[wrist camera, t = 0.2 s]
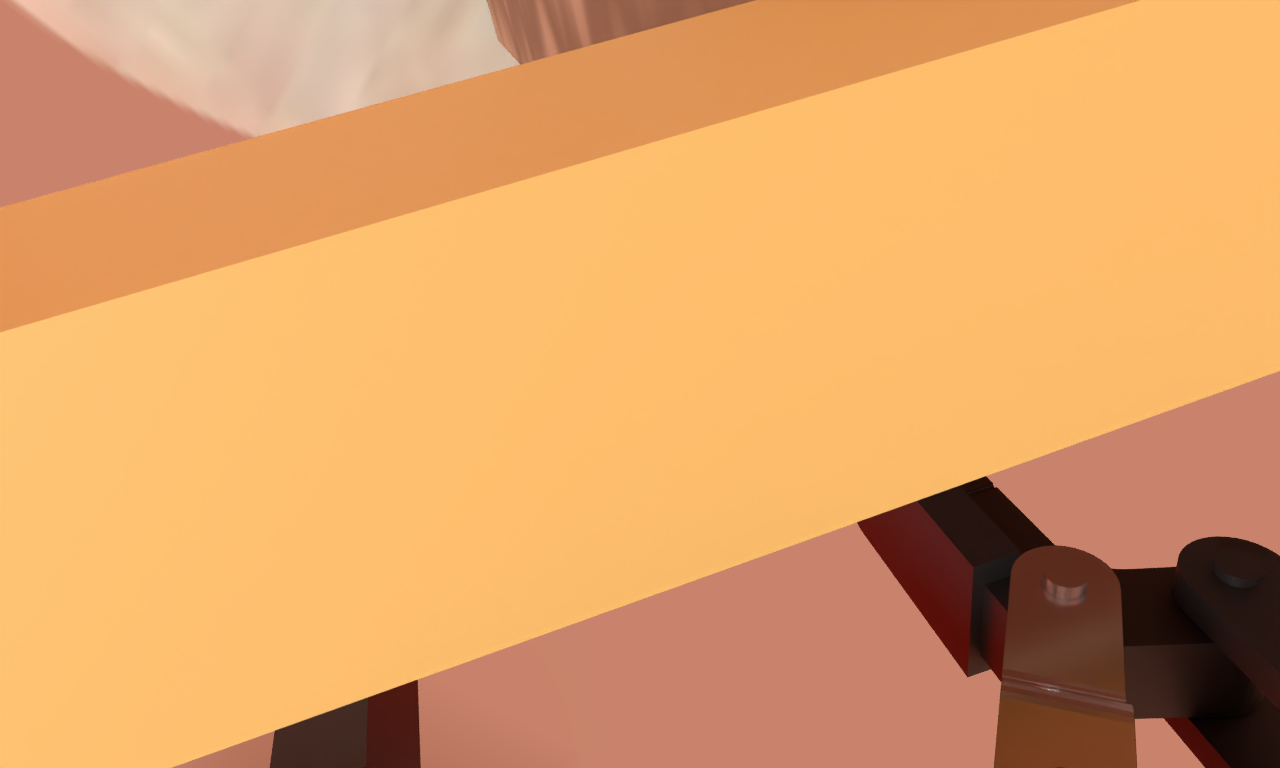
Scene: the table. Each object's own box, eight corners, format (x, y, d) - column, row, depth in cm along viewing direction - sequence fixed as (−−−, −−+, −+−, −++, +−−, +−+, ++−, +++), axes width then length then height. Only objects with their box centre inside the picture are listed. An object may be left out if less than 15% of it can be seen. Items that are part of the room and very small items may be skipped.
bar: (-402, 151, 6) (-1592, 518, 2) (1758, -398, 8) (2828, -632, 4) (35, 654, 8) (-204, 1175, 5) (1559, 141, 10) (2132, 254, 7)
